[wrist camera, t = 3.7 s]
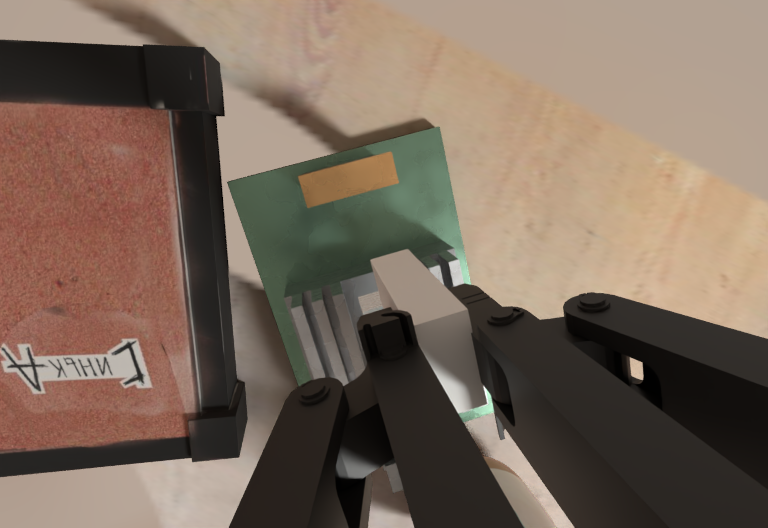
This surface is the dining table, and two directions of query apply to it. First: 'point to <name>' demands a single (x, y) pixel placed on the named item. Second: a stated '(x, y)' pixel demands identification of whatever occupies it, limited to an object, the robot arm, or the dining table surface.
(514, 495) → the vase
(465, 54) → the dining table surface
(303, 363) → the heatsink
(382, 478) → the dining table surface
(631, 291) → the dining table surface
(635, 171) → the dining table surface
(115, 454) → the brown labeled slab
